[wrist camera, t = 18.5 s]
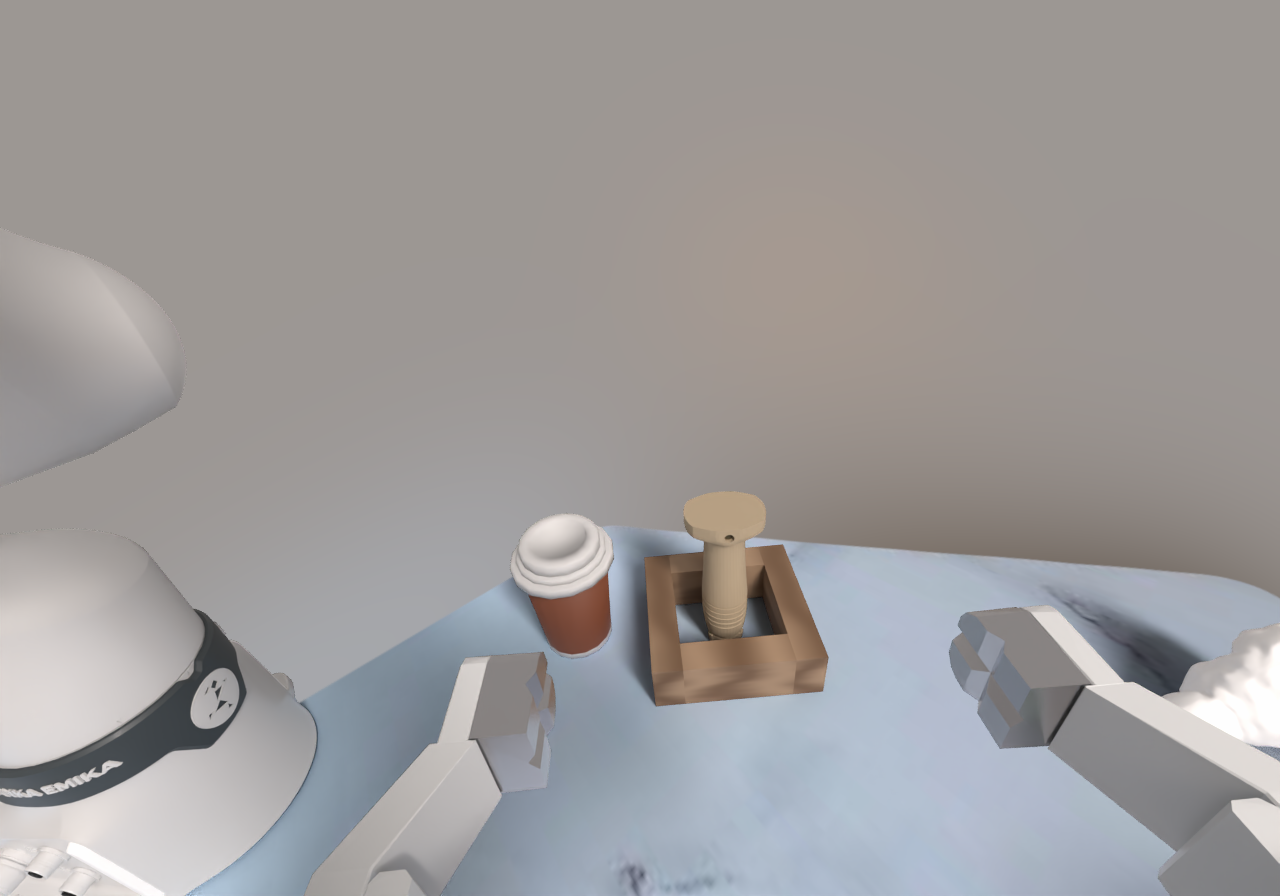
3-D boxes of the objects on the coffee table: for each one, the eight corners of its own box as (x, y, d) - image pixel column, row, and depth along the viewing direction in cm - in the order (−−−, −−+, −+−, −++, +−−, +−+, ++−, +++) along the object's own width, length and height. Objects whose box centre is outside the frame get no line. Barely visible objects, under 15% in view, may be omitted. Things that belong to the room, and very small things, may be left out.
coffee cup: (630, 594, 53) (617, 504, 47) (619, 673, 46) (602, 577, 39) (545, 594, 54) (522, 505, 48) (521, 670, 47) (489, 577, 40)
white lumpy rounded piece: (1423, 673, 31) (1256, 737, 30) (1345, 745, 36) (1197, 802, 34) (1289, 596, 36) (1143, 648, 35) (1236, 667, 41) (1105, 715, 40)
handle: (688, 616, 50) (680, 495, 42) (753, 611, 50) (758, 488, 42) (693, 659, 46) (686, 534, 38) (764, 654, 46) (772, 526, 38)
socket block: (655, 706, 43) (651, 673, 40) (648, 588, 54) (644, 557, 51) (822, 691, 42) (828, 657, 40) (780, 576, 54) (782, 544, 51)
